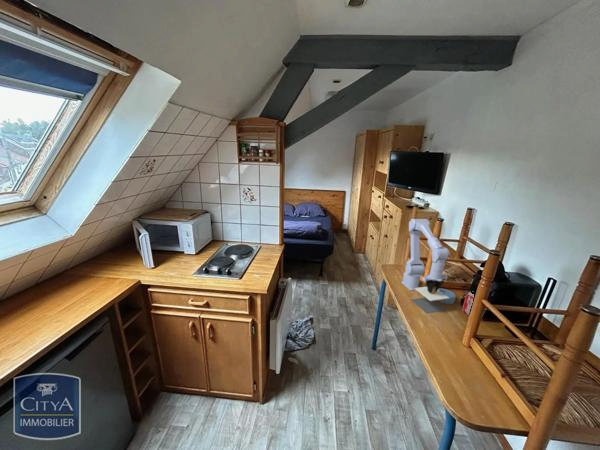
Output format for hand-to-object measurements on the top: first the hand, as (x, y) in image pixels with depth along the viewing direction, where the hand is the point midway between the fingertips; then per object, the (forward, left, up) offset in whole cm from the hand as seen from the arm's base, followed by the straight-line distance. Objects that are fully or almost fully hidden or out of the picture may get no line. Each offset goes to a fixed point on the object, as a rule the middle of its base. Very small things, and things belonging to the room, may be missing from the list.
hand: (431, 291), depth 135 cm
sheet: (0, 0, -1) cm, 1 cm away
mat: (0, -1, -9) cm, 9 cm away
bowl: (-3, +13, -9) cm, 16 cm away
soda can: (+11, +16, -9) cm, 22 cm away
